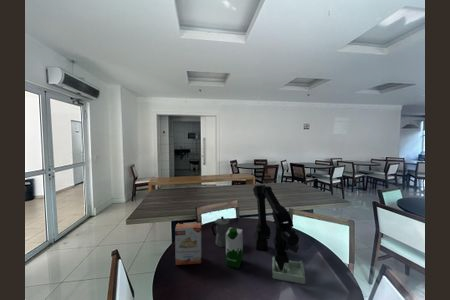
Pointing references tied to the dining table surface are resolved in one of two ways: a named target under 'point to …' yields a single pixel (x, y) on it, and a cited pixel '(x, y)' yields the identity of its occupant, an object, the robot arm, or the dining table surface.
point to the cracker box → (188, 243)
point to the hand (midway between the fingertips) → (280, 264)
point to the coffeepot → (221, 231)
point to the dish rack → (290, 272)
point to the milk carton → (234, 247)
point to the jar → (279, 269)
